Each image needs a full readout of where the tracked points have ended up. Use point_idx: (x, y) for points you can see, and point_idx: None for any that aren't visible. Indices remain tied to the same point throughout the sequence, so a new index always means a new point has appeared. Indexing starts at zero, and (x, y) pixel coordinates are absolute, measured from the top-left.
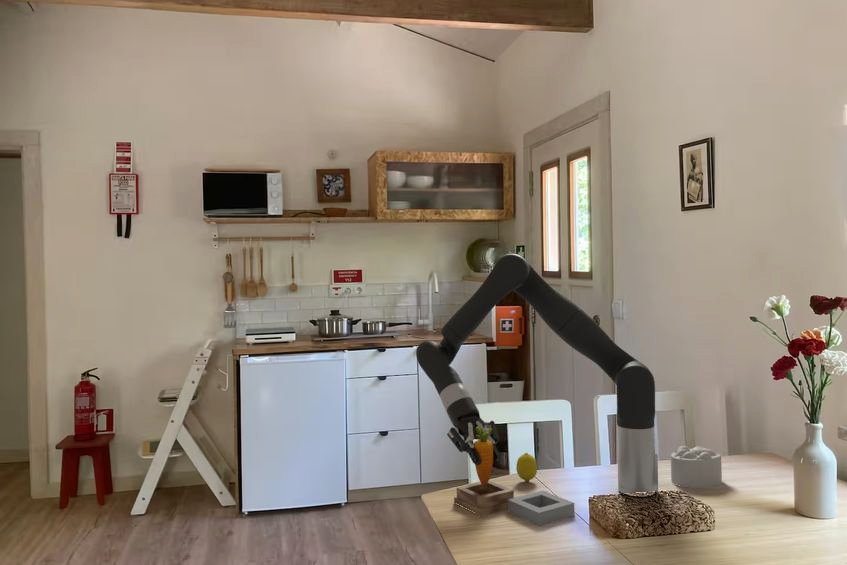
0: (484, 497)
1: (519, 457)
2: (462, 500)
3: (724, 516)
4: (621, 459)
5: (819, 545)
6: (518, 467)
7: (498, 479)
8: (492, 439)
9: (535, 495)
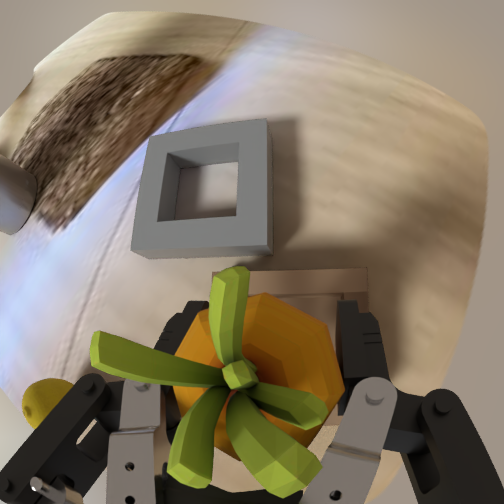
0: (348, 269)
1: None
2: None
3: (54, 89)
4: None
5: (89, 28)
6: None
7: None
8: (127, 396)
9: (173, 226)
